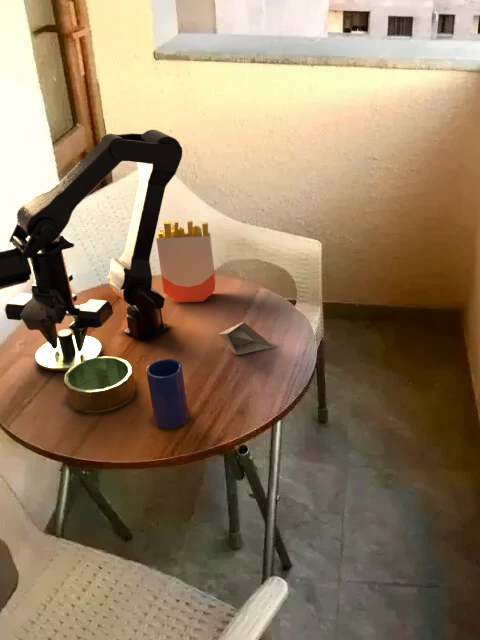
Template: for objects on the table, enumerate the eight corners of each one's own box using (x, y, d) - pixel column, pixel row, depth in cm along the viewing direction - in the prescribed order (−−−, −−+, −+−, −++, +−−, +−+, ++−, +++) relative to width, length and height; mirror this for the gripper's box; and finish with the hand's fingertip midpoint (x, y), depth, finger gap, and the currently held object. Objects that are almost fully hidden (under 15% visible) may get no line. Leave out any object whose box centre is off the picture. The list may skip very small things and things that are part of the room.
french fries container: (167, 293, 160) (156, 215, 150) (216, 291, 161) (209, 213, 151) (165, 303, 156) (154, 223, 146) (215, 300, 157) (208, 221, 147)
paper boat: (255, 326, 145) (287, 330, 138) (249, 358, 144) (281, 363, 138) (209, 314, 136) (241, 317, 130) (202, 348, 136) (234, 353, 129)
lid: (71, 334, 145) (66, 311, 142) (115, 350, 140) (111, 327, 137) (23, 362, 136) (16, 338, 134) (67, 380, 131) (61, 356, 128)
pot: (103, 371, 134) (99, 350, 131) (148, 388, 129) (145, 367, 126) (55, 401, 126) (50, 379, 123) (102, 421, 121) (97, 399, 118)
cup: (170, 405, 124) (162, 355, 119) (195, 414, 122) (189, 364, 116) (147, 421, 120) (138, 371, 115) (173, 432, 118) (165, 381, 112)
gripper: (-23, 290, 124) (-1, 367, 132) (77, 299, 120) (94, 377, 129) (12, 263, 133) (31, 336, 141) (107, 271, 130) (120, 346, 138)
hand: (68, 349), depth 137 cm, fingers open, 5 cm apart
